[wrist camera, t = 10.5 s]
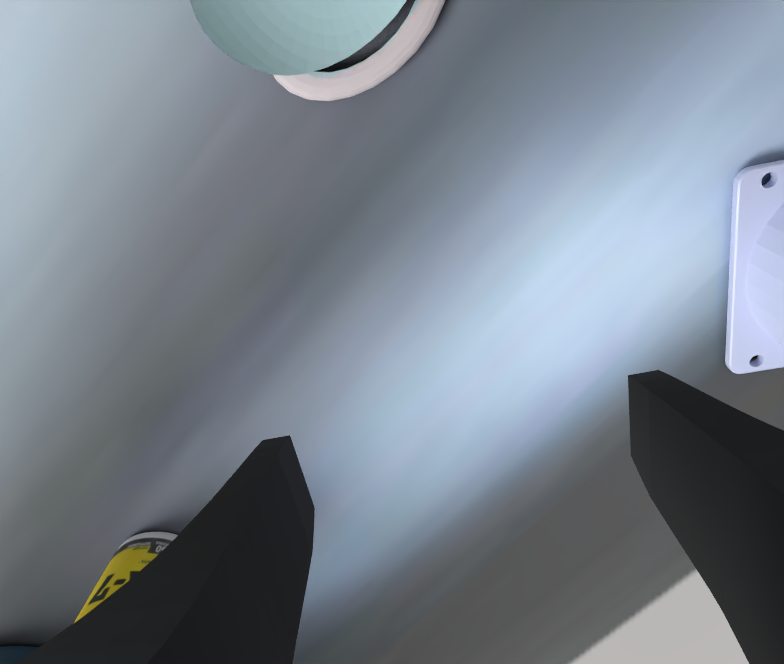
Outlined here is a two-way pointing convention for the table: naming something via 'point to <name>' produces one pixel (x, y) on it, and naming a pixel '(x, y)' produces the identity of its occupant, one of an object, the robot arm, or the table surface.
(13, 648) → the canister
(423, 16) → the pacifier
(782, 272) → the robot arm
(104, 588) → the supplement bottle
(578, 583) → the table surface
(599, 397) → the table surface
